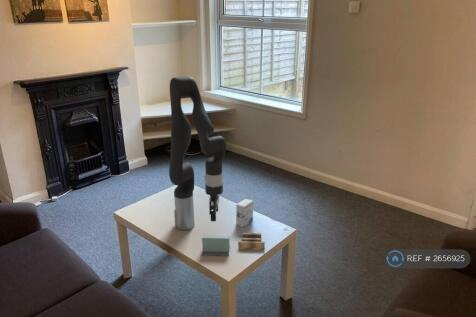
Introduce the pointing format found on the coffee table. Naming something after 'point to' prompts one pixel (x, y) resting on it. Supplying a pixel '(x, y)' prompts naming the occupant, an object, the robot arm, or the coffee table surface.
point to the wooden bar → (251, 245)
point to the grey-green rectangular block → (215, 243)
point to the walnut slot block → (251, 237)
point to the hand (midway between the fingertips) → (214, 216)
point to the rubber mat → (215, 253)
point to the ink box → (244, 212)
